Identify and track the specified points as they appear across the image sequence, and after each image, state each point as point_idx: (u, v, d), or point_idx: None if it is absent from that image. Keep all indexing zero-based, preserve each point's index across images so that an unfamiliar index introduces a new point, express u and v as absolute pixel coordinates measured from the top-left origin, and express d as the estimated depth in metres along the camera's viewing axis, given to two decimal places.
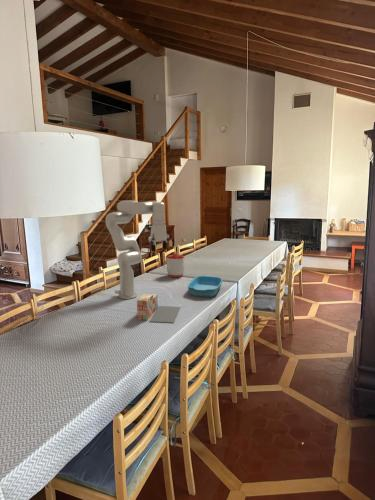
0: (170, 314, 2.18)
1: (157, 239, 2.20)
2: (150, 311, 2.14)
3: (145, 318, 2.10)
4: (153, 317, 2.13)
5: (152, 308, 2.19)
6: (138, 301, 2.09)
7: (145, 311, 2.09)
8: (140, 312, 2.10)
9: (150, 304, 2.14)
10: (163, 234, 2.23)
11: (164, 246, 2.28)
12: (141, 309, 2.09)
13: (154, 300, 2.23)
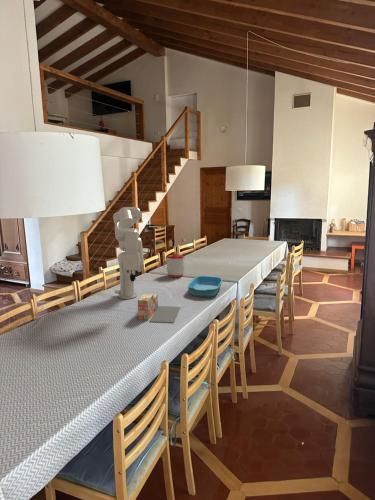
0: (170, 314, 2.18)
1: None
2: (150, 311, 2.14)
3: (146, 318, 2.10)
4: (153, 317, 2.13)
5: (152, 308, 2.19)
6: (139, 301, 2.09)
7: (146, 311, 2.09)
8: (141, 312, 2.10)
9: (151, 304, 2.14)
10: None
11: None
12: (142, 309, 2.10)
13: (154, 300, 2.23)
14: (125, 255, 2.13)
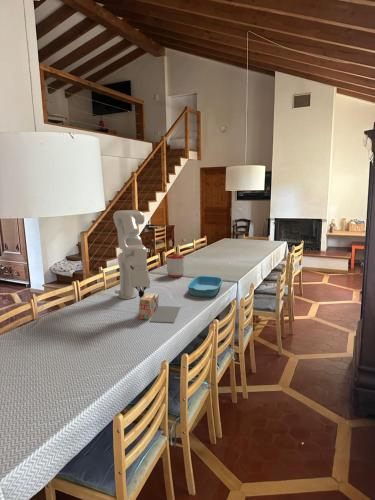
0: (170, 314, 2.18)
1: None
2: (151, 311, 2.14)
3: (146, 317, 2.10)
4: (153, 317, 2.13)
5: (153, 308, 2.19)
6: (141, 300, 2.09)
7: (147, 310, 2.09)
8: (142, 311, 2.10)
9: (152, 304, 2.15)
10: None
11: None
12: (143, 308, 2.10)
13: (155, 300, 2.23)
14: (134, 272, 2.14)
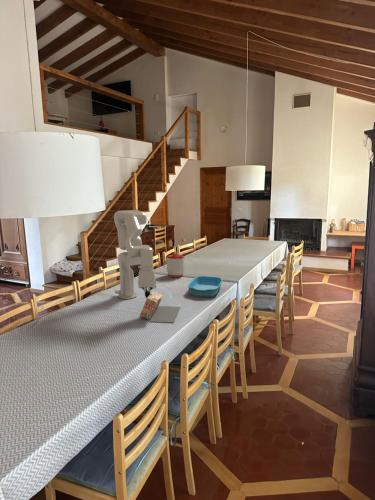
0: (170, 314, 2.18)
1: None
2: (153, 311, 2.14)
3: (148, 317, 2.10)
4: (153, 317, 2.13)
5: (155, 308, 2.19)
6: (148, 299, 2.08)
7: (150, 311, 2.09)
8: (146, 310, 2.09)
9: (156, 305, 2.14)
10: None
11: None
12: (147, 307, 2.09)
13: (159, 300, 2.23)
14: (140, 272, 2.14)
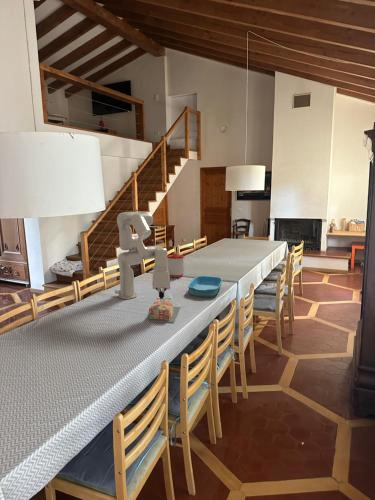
0: None
1: None
2: None
3: (151, 317, 2.10)
4: None
5: None
6: (168, 311, 2.08)
7: (158, 317, 2.09)
8: (156, 313, 2.09)
9: None
10: None
11: None
12: (160, 313, 2.09)
13: None
14: (154, 273, 2.13)
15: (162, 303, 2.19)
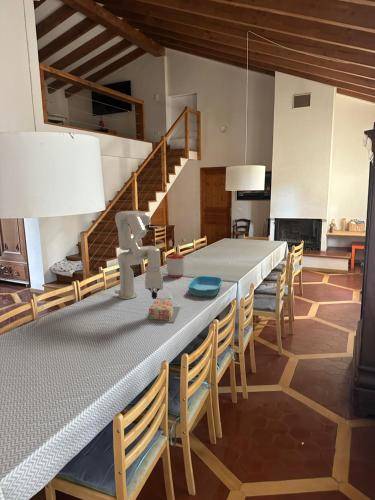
0: None
1: None
2: None
3: (151, 317, 2.10)
4: None
5: None
6: (168, 311, 2.08)
7: (158, 317, 2.09)
8: (156, 313, 2.09)
9: None
10: None
11: None
12: (160, 313, 2.09)
13: None
14: (147, 273, 2.13)
15: (162, 303, 2.19)
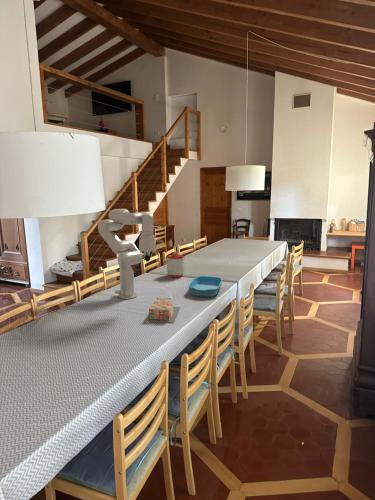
0: None
1: None
2: None
3: (151, 317, 2.10)
4: None
5: None
6: (168, 311, 2.08)
7: (158, 317, 2.09)
8: (156, 313, 2.09)
9: None
10: None
11: None
12: (160, 313, 2.09)
13: None
14: (141, 237, 2.28)
15: (162, 303, 2.19)
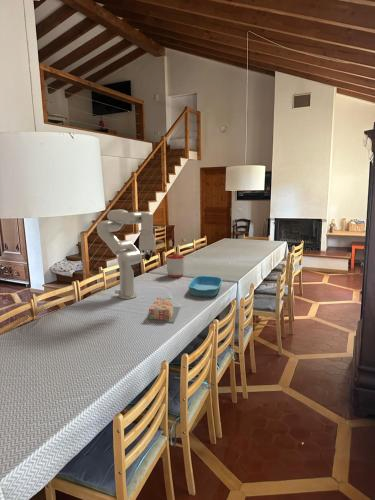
0: None
1: None
2: None
3: (151, 317, 2.10)
4: None
5: None
6: (168, 311, 2.08)
7: (158, 317, 2.09)
8: (156, 313, 2.09)
9: None
10: None
11: None
12: (160, 313, 2.09)
13: None
14: (141, 236, 2.29)
15: (162, 303, 2.19)
